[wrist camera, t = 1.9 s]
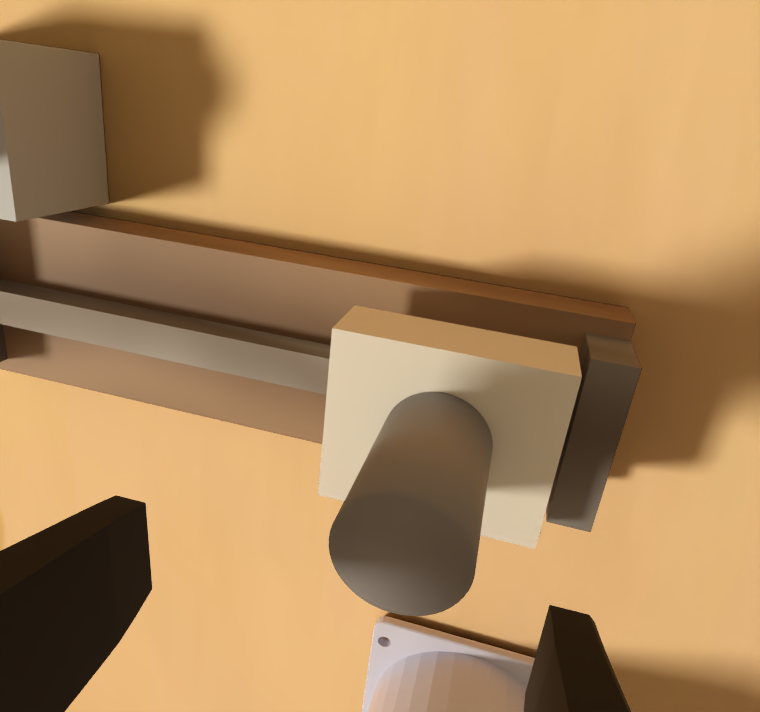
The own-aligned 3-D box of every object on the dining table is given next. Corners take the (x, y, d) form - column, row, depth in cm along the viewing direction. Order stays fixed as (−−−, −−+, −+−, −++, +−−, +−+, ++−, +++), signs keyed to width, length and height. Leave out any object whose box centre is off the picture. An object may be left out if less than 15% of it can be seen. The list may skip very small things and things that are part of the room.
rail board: (578, 478, 20) (586, 546, 17) (14, 350, 24) (-67, 386, 21) (628, 307, 17) (647, 349, 14) (-9, 197, 21) (-103, 211, 18)
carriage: (535, 504, 17) (533, 696, 12) (339, 457, 18) (248, 612, 13) (577, 346, 15) (599, 483, 10) (355, 305, 16) (255, 405, 11)
